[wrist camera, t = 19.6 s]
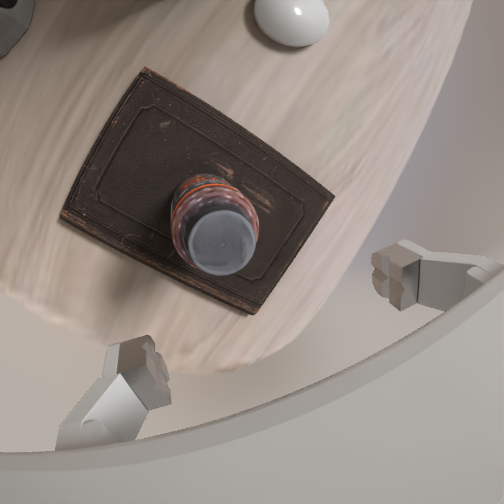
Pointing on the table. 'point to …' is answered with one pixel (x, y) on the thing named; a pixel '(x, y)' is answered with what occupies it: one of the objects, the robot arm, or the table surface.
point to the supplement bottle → (213, 225)
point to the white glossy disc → (292, 21)
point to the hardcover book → (179, 169)
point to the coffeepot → (13, 22)
